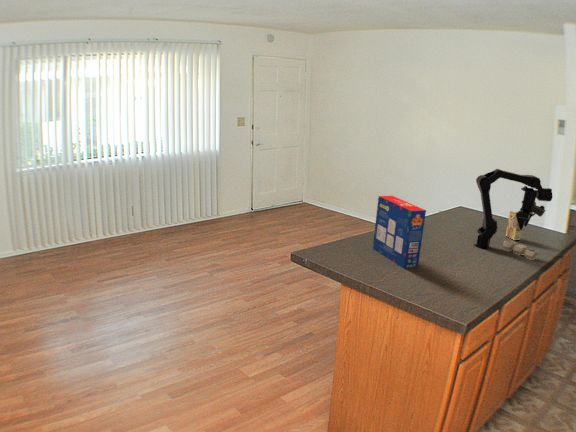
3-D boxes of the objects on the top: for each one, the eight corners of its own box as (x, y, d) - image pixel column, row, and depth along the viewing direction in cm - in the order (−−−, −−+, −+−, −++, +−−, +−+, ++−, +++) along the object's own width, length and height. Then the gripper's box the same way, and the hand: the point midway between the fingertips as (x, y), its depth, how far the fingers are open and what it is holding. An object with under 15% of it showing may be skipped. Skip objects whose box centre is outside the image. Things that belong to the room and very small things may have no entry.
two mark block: (509, 251, 273) (510, 243, 272) (502, 248, 277) (503, 240, 276) (514, 250, 275) (516, 242, 274) (508, 248, 279) (509, 240, 278)
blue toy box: (417, 267, 242) (426, 210, 234) (403, 268, 239) (411, 211, 231) (385, 247, 267) (392, 195, 259) (372, 248, 264) (378, 196, 256)
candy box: (520, 241, 292) (525, 215, 288) (513, 241, 292) (518, 215, 288) (511, 236, 301) (516, 211, 297) (504, 236, 300) (509, 211, 296)
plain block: (519, 256, 267) (521, 248, 266) (512, 253, 271) (514, 245, 270) (525, 255, 269) (527, 247, 268) (518, 252, 273) (520, 244, 272)
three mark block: (531, 260, 261) (533, 252, 260) (523, 257, 265) (525, 249, 264) (537, 259, 263) (539, 251, 262) (529, 256, 267) (531, 248, 266)
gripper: (541, 205, 257) (534, 235, 262) (549, 200, 272) (543, 228, 276) (518, 200, 264) (512, 229, 268) (527, 195, 278) (521, 223, 282)
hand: (523, 227), depth 273 cm, fingers open, 9 cm apart
